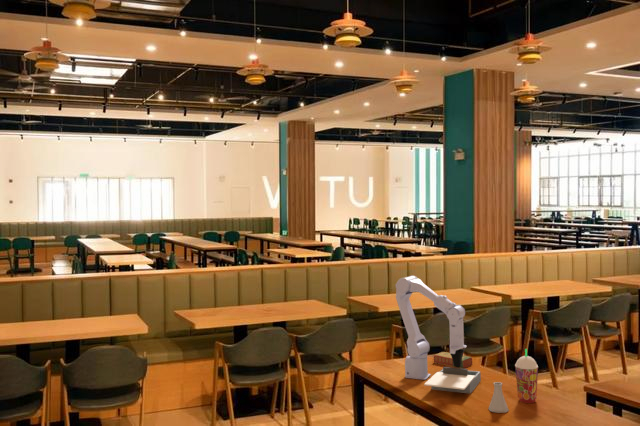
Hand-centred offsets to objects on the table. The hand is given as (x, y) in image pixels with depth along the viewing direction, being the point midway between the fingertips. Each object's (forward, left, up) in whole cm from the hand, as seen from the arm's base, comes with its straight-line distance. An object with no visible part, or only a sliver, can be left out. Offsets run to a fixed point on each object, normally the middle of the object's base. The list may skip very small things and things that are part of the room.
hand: (457, 366), depth 269 cm
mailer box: (0, -3, -7) cm, 7 cm away
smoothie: (+30, -13, -7) cm, 33 cm away
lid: (0, -12, -3) cm, 12 cm away
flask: (+22, -27, -7) cm, 35 cm away
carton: (-10, +29, -8) cm, 31 cm away
